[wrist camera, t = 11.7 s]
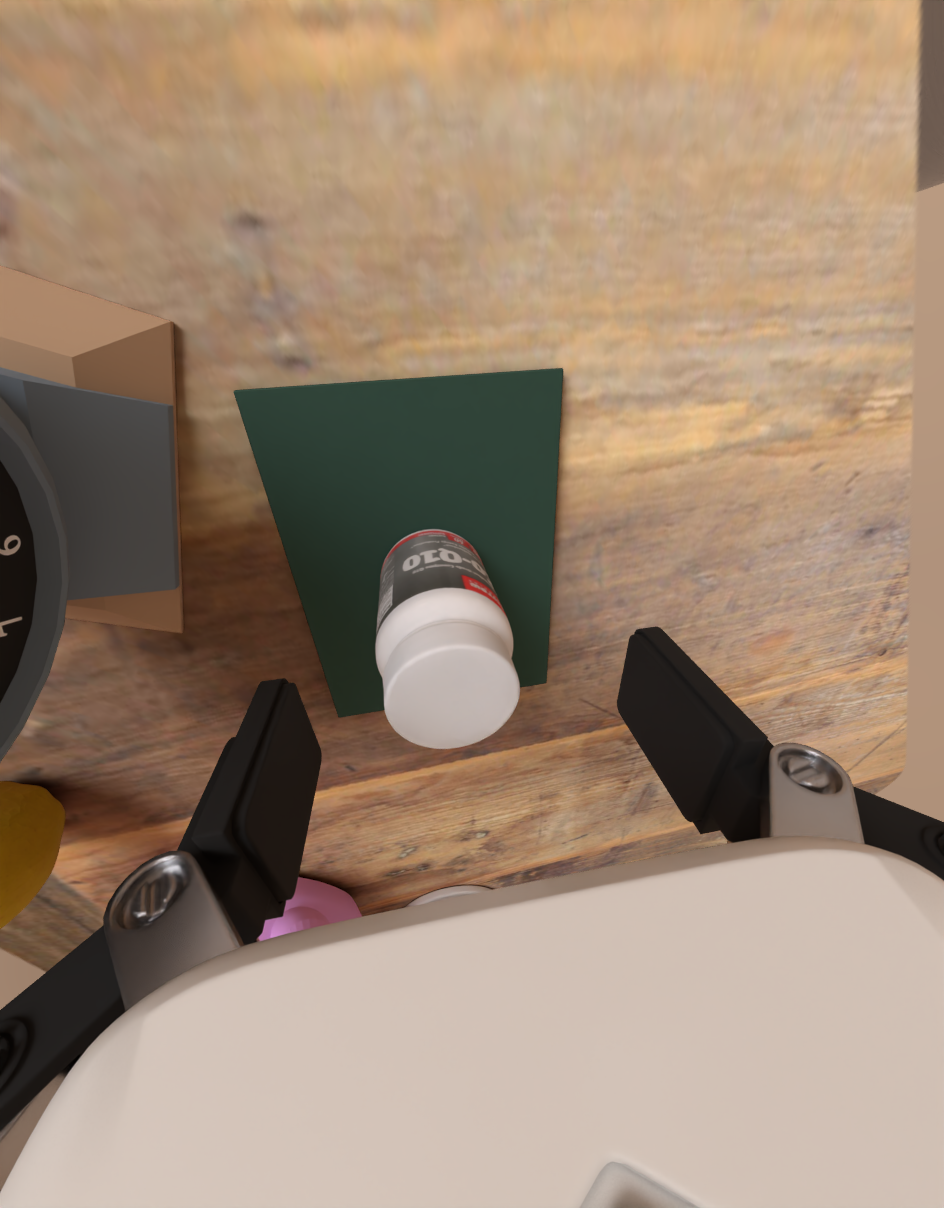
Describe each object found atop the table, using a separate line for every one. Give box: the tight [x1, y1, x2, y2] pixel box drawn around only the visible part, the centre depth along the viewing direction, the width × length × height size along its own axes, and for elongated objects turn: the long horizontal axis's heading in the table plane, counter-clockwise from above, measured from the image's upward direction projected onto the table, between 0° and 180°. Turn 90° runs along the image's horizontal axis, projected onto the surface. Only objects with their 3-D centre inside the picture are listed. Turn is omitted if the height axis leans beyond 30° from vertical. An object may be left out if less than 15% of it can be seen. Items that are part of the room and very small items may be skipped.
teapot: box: [258, 877, 362, 941], centre depth 26 cm, size 13×20×11 cm
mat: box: [234, 368, 563, 717], centre depth 19 cm, size 16×12×1 cm
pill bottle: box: [375, 529, 520, 749], centre depth 15 cm, size 5×5×8 cm
